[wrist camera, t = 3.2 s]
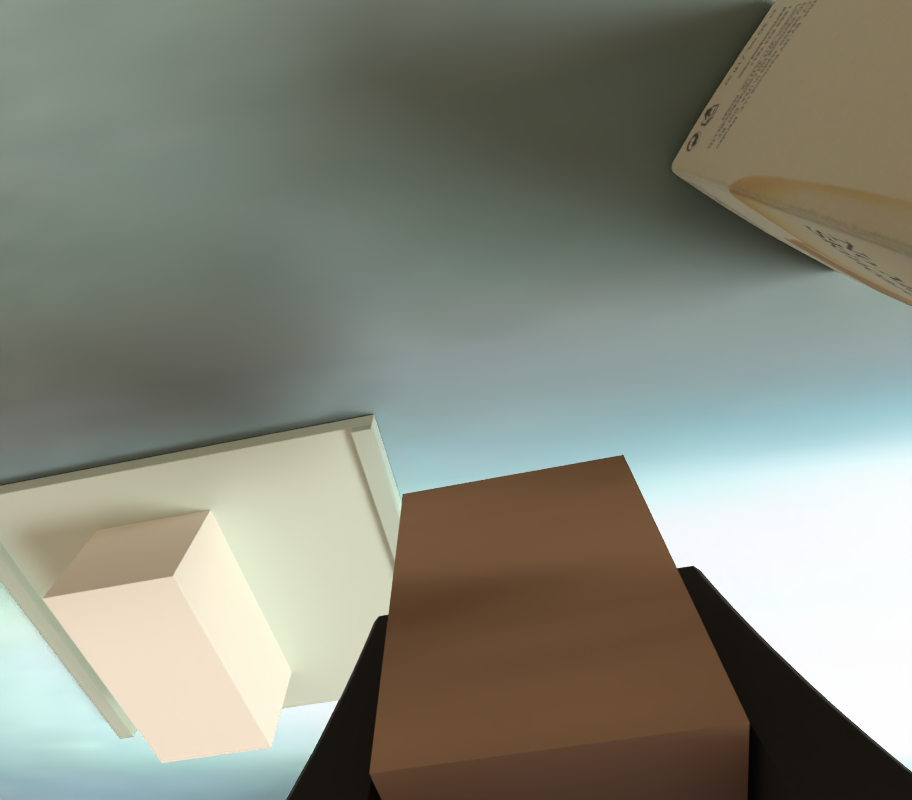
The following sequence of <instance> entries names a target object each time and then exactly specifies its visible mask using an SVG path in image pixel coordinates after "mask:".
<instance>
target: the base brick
mask: <svg viewBox="0 0 912 800" xmlns="http://www.w3.org/2000/svg"><path fill="white" fill-rule="evenodd" d="M42 599H43V600H44V602H45V603H46V604H47V606H48V607H49V608H50V610H51V611H52V613H53V614H54V615H55V617H56V618H57V619H58V621H59V622H60V624H61V625H62V626H63V628H64V629H65V630H66V632H67V633H68V635H69V636H70V637H71V639H72V640H73V641H74V643H75V644H76V646H77V647H78V648H79V650H80V651H81V652H82V654H83V655H84V657H85V658H86V659H87V661H88V662H89V663H90V665H91V666H92V668H93V669H94V670H95V672H96V673H97V674H98V676H99V677H100V679H101V680H102V681H103V683H104V684H105V685H106V687H107V688H108V690H109V691H110V692H111V694H112V695H113V696H114V698H115V699H116V701H117V702H118V703H119V705H120V706H121V708H122V709H123V710H124V712H125V713H126V714H127V716H128V717H129V719H130V720H131V721H132V723H133V724H134V725H135V727H136V728H137V730H138V731H139V732H140V734H141V735H142V736H143V738H144V739H145V741H146V742H147V743H148V745H149V746H150V747H151V749H152V750H153V752H154V753H155V754H156V756H157V757H158V758H159V760H160V761H161V763H166V762H173V761H180V760H187V759H194V758H201V757H209V756H216V755H223V754H230V753H237V752H244V751H251V750H258V749H265V748H271V746H272V743H273V739H274V735H275V732H276V728H277V724H278V721H279V717H280V713H281V710H282V706H283V702H284V699H285V695H286V691H287V688H288V684H289V680H290V677H291V673H292V671H291V669H290V667H289V665H288V663H287V661H286V659H285V657H284V655H283V653H282V651H281V649H280V647H279V645H278V643H277V641H276V639H275V637H274V635H273V633H272V631H271V629H270V627H269V625H268V623H267V621H266V619H265V617H264V615H263V613H262V611H261V609H260V607H259V605H258V603H257V601H256V599H255V597H254V595H253V593H252V591H251V589H250V587H249V585H248V583H247V581H246V579H245V577H244V575H243V573H242V571H241V569H240V567H239V565H238V563H237V561H236V559H235V557H234V555H233V553H232V551H231V549H230V547H229V545H228V543H227V541H226V539H225V537H224V535H223V533H222V531H221V529H220V527H219V525H218V523H217V521H216V519H215V517H214V515H213V513H212V511H211V510H206V511H201V512H195V513H190V514H184V515H179V516H173V517H168V518H162V519H157V520H151V521H146V522H140V523H135V524H129V525H123V526H118V527H112V528H107V529H101V530H97V531H96V532H95V534H94V535H93V536H92V537H91V539H90V540H89V541H88V542H87V544H86V545H85V546H84V547H83V549H82V550H81V551H80V552H79V554H78V555H77V556H76V557H75V559H74V560H73V561H72V562H71V564H70V565H69V566H68V567H67V569H66V570H65V571H64V572H63V574H62V575H61V576H60V577H59V578H58V580H57V581H56V582H55V583H54V585H53V586H52V587H51V588H50V590H49V591H48V592H47V593H46V595H45V596H44V597H43V598H42Z"/></svg>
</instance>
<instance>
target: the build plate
mask: <svg viewBox="0 0 912 800" xmlns="http://www.w3.org/2000/svg"><path fill="white" fill-rule="evenodd" d="M401 505H402V502H401V499H400V496H399V493H398V489H397V486H396V483H395V480H394V477H393V474H392V470H391V467H390V464H389V461H388V458H387V454H386V451H385V448H384V445H383V442H382V438H381V435H380V432H379V429H378V426H377V423H376V419H375V416H374V415H369V416H363V417H358V418H353V419H348V420H342V421H337V422H332V423H327V424H321V425H316V426H311V427H306V428H300V429H295V430H290V431H285V432H279V433H274V434H269V435H264V436H259V437H253V438H248V439H243V440H238V441H232V442H227V443H222V444H217V445H211V446H206V447H201V448H196V449H190V450H185V451H180V452H175V453H169V454H164V455H159V456H154V457H148V458H143V459H138V460H133V461H128V462H122V463H117V464H112V465H107V466H101V467H96V468H91V469H86V470H80V471H75V472H70V473H65V474H59V475H54V476H49V477H44V478H38V479H33V480H28V481H23V482H17V483H12V484H7V485H2V486H0V581H1V582H2V584H3V585H4V586H5V588H6V589H7V590H8V592H9V593H10V594H11V596H12V597H13V598H14V600H15V601H16V602H17V604H18V605H19V606H20V608H21V609H22V610H23V611H24V613H25V614H26V615H27V617H28V618H29V619H30V621H31V622H32V623H33V625H34V626H35V627H36V629H37V630H38V631H39V633H40V634H41V635H42V637H43V638H44V639H45V641H46V642H47V643H48V645H49V646H50V647H51V648H52V650H53V651H54V652H55V654H56V655H57V656H58V658H59V659H60V660H61V662H62V663H63V664H64V666H65V667H66V668H67V670H68V671H69V672H70V674H71V675H72V676H73V678H74V679H75V680H76V681H77V683H78V684H79V685H80V687H81V688H82V689H83V691H84V692H85V693H86V695H87V696H88V697H89V699H90V700H91V701H92V703H93V704H94V705H95V707H96V708H97V709H98V711H99V712H100V713H101V715H102V716H103V717H104V718H105V720H106V721H107V722H108V724H109V725H110V726H111V728H112V729H113V730H114V732H115V733H116V734H117V736H118V737H119V738H120V739H123V738H130V737H134V735H135V733H136V731H137V728H136V727H135V725H134V724H133V723H132V721H131V720H130V719H129V717H128V716H127V714H126V713H125V712H124V710H123V709H122V708H121V706H120V705H119V703H118V702H117V701H116V699H115V698H114V696H113V695H112V694H111V692H110V691H109V690H108V688H107V687H106V685H105V684H104V683H103V681H102V680H101V679H100V677H99V676H98V674H97V673H96V672H95V670H94V669H93V668H92V666H91V665H90V663H89V662H88V661H87V659H86V658H85V657H84V655H83V654H82V652H81V651H80V650H79V648H78V647H77V646H76V644H75V643H74V641H73V640H72V639H71V637H70V636H69V635H68V633H67V632H66V630H65V629H64V628H63V626H62V625H61V624H60V622H59V621H58V619H57V618H56V617H55V615H54V614H53V613H52V611H51V610H50V608H49V607H48V606H47V604H46V603H45V602H44V600H43V599H42V598H43V597H44V596H45V595H46V593H47V592H48V591H49V590H50V588H51V587H52V586H53V585H54V583H55V582H56V581H57V580H58V578H59V577H60V576H61V575H62V574H63V572H64V571H65V570H66V569H67V567H68V566H69V565H70V564H71V562H72V561H73V560H74V559H75V557H76V556H77V555H78V554H79V552H80V551H81V550H82V549H83V547H84V546H85V545H86V544H87V542H88V541H89V540H90V539H91V537H92V536H93V535H94V534H95V532H96V531H97V530H101V529H107V528H112V527H118V526H123V525H129V524H135V523H140V522H146V521H151V520H157V519H162V518H168V517H173V516H179V515H184V514H190V513H195V512H201V511H206V510H211V511H212V513H213V515H214V517H215V519H216V521H217V523H218V525H219V527H220V529H221V531H222V533H223V535H224V537H225V539H226V541H227V543H228V545H229V547H230V549H231V551H232V553H233V555H234V557H235V559H236V561H237V563H238V565H239V567H240V569H241V571H242V573H243V575H244V577H245V579H246V581H247V583H248V585H249V587H250V589H251V591H252V593H253V595H254V597H255V599H256V601H257V603H258V605H259V607H260V609H261V611H262V613H263V615H264V617H265V619H266V621H267V623H268V625H269V627H270V629H271V631H272V633H273V635H274V637H275V639H276V641H277V643H278V645H279V647H280V649H281V651H282V653H283V655H284V657H285V659H286V661H287V663H288V665H289V667H290V669H291V671H292V673H291V677H290V680H289V684H288V688H287V691H286V695H285V699H284V702H283V706H282V708H289V707H295V706H302V705H309V704H316V703H323V702H329V701H336V700H339V699H340V697H341V695H342V693H343V691H344V689H345V687H346V685H347V682H348V680H349V678H350V676H351V674H352V672H353V670H354V667H355V665H356V663H357V661H358V659H359V656H360V654H361V652H362V649H363V647H364V645H365V643H366V640H367V638H368V636H369V633H370V631H371V628H372V626H373V624H374V622H375V620H376V619H377V618H378V617H379V616H383V615H388V614H389V605H390V597H391V589H392V580H393V572H394V564H395V555H396V547H397V539H398V530H399V522H400V514H401Z"/></svg>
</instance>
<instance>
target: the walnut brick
mask: <svg viewBox="0 0 912 800" xmlns="http://www.w3.org/2000/svg"><path fill="white" fill-rule="evenodd" d="M748 762H749V720H748V718H747V716H746V714H745V711H744V709H743V707H742V705H741V703H740V701H739V699H738V697H737V695H736V692H735V690H734V688H733V686H732V684H731V682H730V680H729V678H728V676H727V673H726V671H725V669H724V667H723V665H722V663H721V661H720V659H719V656H718V654H717V652H716V650H715V648H714V646H713V644H712V642H711V640H710V637H709V635H708V633H707V631H706V629H705V627H704V625H703V623H702V621H701V618H700V616H699V614H698V612H697V610H696V608H695V606H694V604H693V601H692V599H691V597H690V595H689V593H688V591H687V589H686V587H685V585H684V582H683V580H682V578H681V576H680V574H679V572H678V570H677V568H676V565H675V563H674V561H673V559H672V557H671V555H670V553H669V551H668V549H667V546H666V544H665V542H664V540H663V538H662V536H661V534H660V532H659V530H658V527H657V525H656V523H655V521H654V519H653V517H652V515H651V513H650V510H649V508H648V506H647V504H646V502H645V500H644V498H643V496H642V494H641V491H640V489H639V487H638V485H637V483H636V481H635V479H634V477H633V475H632V472H631V470H630V468H629V466H628V464H627V462H626V460H625V458H624V455H621V456H615V457H609V458H604V459H598V460H593V461H587V462H581V463H576V464H570V465H565V466H559V467H553V468H548V469H542V470H536V471H531V472H525V473H520V474H514V475H508V476H503V477H497V478H491V479H486V480H480V481H475V482H469V483H463V484H458V485H452V486H446V487H441V488H435V489H430V490H424V491H418V492H413V493H407V494H403V497H402V505H401V514H400V522H399V530H398V539H397V547H396V555H395V564H394V572H393V580H392V589H391V597H390V605H389V614H388V622H387V630H386V639H385V647H384V655H383V664H382V672H381V680H380V689H379V697H378V705H377V714H376V722H375V730H374V739H373V747H372V756H371V764H370V772H369V774H370V776H371V778H372V780H373V783H374V785H375V787H376V789H377V791H378V793H379V795H380V798H381V800H748Z"/></svg>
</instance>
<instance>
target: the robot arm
mask: <svg viewBox="0 0 912 800" xmlns="http://www.w3.org/2000/svg"><path fill="white" fill-rule="evenodd" d="M677 570H678V572H679V574H680V576H681V578H682V580H683V582H684V585H685V587H686V589H687V591H688V593H689V595H690V597H691V599H692V601H693V604H694V606H695V608H696V610H697V612H698V614H699V616H700V618H701V621H702V623H703V625H704V627H705V629H706V631H707V633H708V635H709V637H710V640H711V642H712V644H713V646H714V648H715V650H716V652H717V654H718V656H719V659H720V661H721V663H722V665H723V667H724V669H725V671H726V673H727V676H728V678H729V680H730V682H731V684H732V686H733V688H734V690H735V692H736V695H737V697H738V699H739V701H740V703H741V705H742V707H743V709H744V711H745V714H746V716H747V718H748V720H749V762H748V800H912V772H911V771H910V770H909V769H908V768H906V767H905V766H904V765H903V764H901V763H900V762H899V761H898V760H897V759H895V758H894V757H893V756H892V755H890V754H889V753H888V752H887V751H886V750H885V749H883V748H882V747H881V746H880V745H879V744H877V743H876V742H875V741H874V740H873V739H871V738H870V737H869V736H868V735H867V734H866V733H864V732H863V731H862V730H861V729H860V728H859V727H858V726H856V725H855V724H854V723H853V722H852V721H851V720H850V719H848V718H847V717H846V716H845V715H844V714H843V713H842V712H841V711H839V710H838V709H837V708H836V707H835V706H834V705H833V704H831V703H830V702H829V701H828V700H827V699H826V698H825V697H824V696H823V695H822V694H821V693H819V692H818V691H817V690H816V689H815V688H814V687H813V686H812V685H811V684H810V683H809V682H808V681H806V680H805V679H804V678H803V677H802V676H801V675H800V674H799V673H798V672H797V671H796V670H795V669H794V668H793V667H792V666H791V665H790V664H789V663H788V662H787V661H786V660H785V659H783V658H782V657H781V656H780V655H779V654H778V653H777V652H776V651H775V650H774V649H773V648H772V647H771V646H770V645H769V644H768V643H767V642H766V641H765V640H764V639H763V638H762V637H761V636H760V635H759V634H758V633H757V632H756V631H755V630H754V629H753V628H752V627H751V626H750V625H749V624H748V623H747V622H746V620H745V619H744V618H743V617H742V616H741V615H740V614H739V613H738V612H737V611H736V610H735V609H734V608H733V607H732V606H731V605H730V604H729V603H728V601H727V600H726V599H725V598H724V597H723V596H722V595H721V594H720V593H719V592H718V590H717V589H716V588H715V587H714V586H713V585H712V584H711V583H710V581H709V580H708V579H707V578H706V577H705V576H704V574H703V573H702V572H701V571H700V570H699V569H697V568H696V567H694V566H690V567H683V568H677ZM387 622H388V615H383V616H379V617H378V618H377V619H376V620H375V622H374V624H373V626H372V628H371V631H370V633H369V636H368V638H367V640H366V643H365V645H364V647H363V649H362V652H361V654H360V656H359V659H358V661H357V663H356V665H355V667H354V670H353V672H352V674H351V676H350V678H349V680H348V682H347V685H346V687H345V689H344V691H343V693H342V695H341V697H340V699H339V701H338V703H337V705H336V707H335V709H334V711H333V713H332V715H331V717H330V719H329V721H328V723H327V725H326V727H325V729H324V731H323V733H322V735H321V737H320V739H319V741H318V743H317V745H316V747H315V749H314V751H313V753H312V754H311V756H310V758H309V760H308V762H307V763H306V765H305V767H304V769H303V771H302V772H301V774H300V776H299V778H298V779H297V781H296V783H295V785H294V787H293V788H292V790H291V792H290V794H289V796H288V797H287V799H286V800H381V798H380V795H379V793H378V791H377V789H376V787H375V785H374V783H373V780H372V778H371V776H370V774H369V772H370V764H371V756H372V747H373V739H374V730H375V722H376V714H377V705H378V697H379V689H380V680H381V672H382V664H383V655H384V647H385V639H386V630H387Z"/></svg>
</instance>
